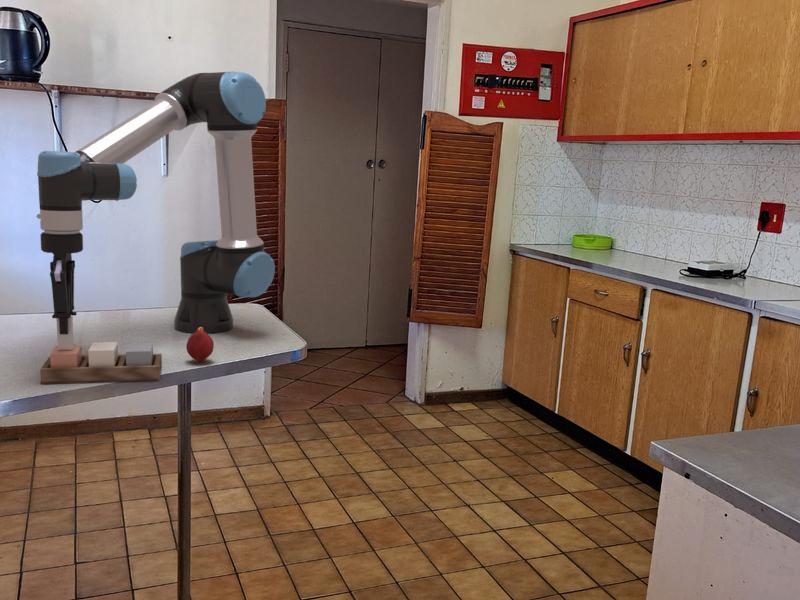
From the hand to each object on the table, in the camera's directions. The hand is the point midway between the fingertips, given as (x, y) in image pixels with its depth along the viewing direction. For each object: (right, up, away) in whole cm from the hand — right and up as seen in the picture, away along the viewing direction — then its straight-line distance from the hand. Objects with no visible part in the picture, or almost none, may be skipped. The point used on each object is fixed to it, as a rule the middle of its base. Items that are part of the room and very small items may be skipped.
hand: (65, 348), depth 149 cm
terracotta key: (0, -3, +1) cm, 4 cm away
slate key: (+13, -3, +4) cm, 14 cm away
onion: (+23, -4, +16) cm, 28 cm away
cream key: (+7, -3, +2) cm, 8 cm away
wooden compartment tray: (+7, -6, +3) cm, 9 cm away
